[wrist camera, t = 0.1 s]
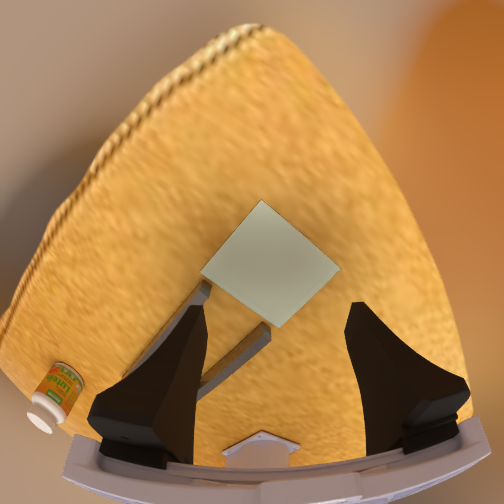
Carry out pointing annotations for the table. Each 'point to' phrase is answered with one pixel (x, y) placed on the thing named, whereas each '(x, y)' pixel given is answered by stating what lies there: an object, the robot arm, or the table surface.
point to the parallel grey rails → (225, 365)
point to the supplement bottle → (55, 397)
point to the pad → (270, 266)
